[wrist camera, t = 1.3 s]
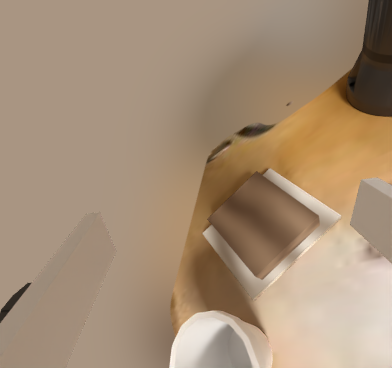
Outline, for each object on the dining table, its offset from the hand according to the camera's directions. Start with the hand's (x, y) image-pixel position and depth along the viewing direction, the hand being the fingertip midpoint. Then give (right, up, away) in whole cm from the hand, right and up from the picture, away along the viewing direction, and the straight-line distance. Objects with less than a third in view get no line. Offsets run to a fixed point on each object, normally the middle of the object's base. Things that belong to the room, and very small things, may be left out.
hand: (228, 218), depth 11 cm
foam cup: (+6, -22, +19) cm, 29 cm away
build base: (+10, -6, +26) cm, 28 cm away
